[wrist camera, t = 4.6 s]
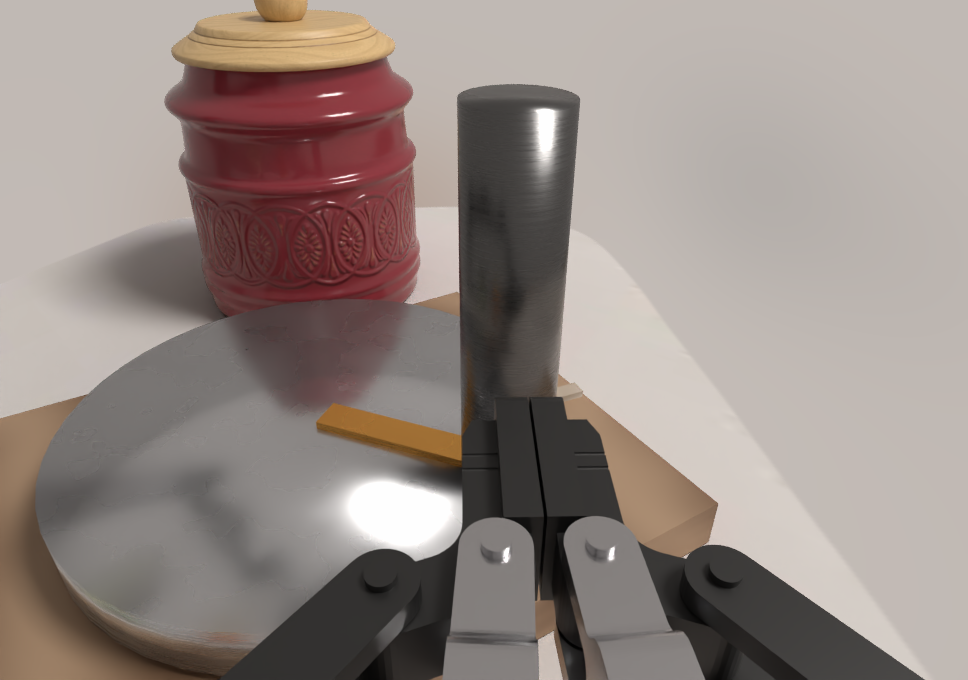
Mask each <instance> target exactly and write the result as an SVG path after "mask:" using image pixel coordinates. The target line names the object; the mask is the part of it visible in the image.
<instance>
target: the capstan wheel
mask: <svg viewBox="0 0 968 680" xmlns="http://www.w3.org/2000/svg"><path fill="white" fill-rule="evenodd" d="M579 108H580V98H579V97H578V96H577V95H576V94H574V93H572V92H569V91H566V90H563V89H558V88H553V87H546V86H538V85H522V84H506V85H490V86H483V87H477V88H472V89H469V90H466V91H463V92H461V93H460V94H459V95H458V97H457V110H458V111H457V117H458V199H459V201H458V202H459V203H458V204H459V291H460V317H459V316H456V315H453V314H450V313H447V312H444V311H440V310H436V309H432V308H428V307H423V306H419V305H413V304H407V303H401V302H393V301H382V300H369V299H334V300H317V301H307V302H297V303H290V304H284V305H278V306H272V307H267V308H262V309H258V310H253V311H249V312H245V313H241V314H238V315H234V316H231V317H227V318H224V319H220V320H217V321H215V322H212V323H209V324H206V325H203V326H200V327H198V328H195V329H193V330H190V331H188V332H186V333H183V334H181V335H179V336H176V337H174V338H172V339H170V340H168V341H166V342H164V343H162V344H160V345H158V346H156V347H154V348H152V349H150V350H148V351H146V352H145V353H143V354H141V355H140V356H138V357H137V358H135V359H133V360H132V361H130V362H129V363H127V364H125V365H124V366H122V367H121V368H120V369H118V370H117V371H116V372H114V373H113V374H112V375H110V376H109V377H108V378H106V379H105V380H104V381H102V382H101V383H100V384H99V385H98V386H97V387H96V388H94V389H93V390H92V391H91V392H90V393H89V394H88V395H87V396H86V397H85V398H83V399H82V401H81V402H80V403H79V404H78V405H77V406H76V407H75V409H74V410H73V411H72V412H71V413H70V414H69V415H68V416H67V418H66V419H65V420H64V422H63V423H62V425H61V426H60V428H59V429H58V431H57V432H56V434H55V435H54V437H53V438H52V440H51V442H50V444H49V446H48V449H47V451H46V453H45V455H44V457H43V460H42V462H41V466H40V470H39V474H38V478H37V482H36V495H35V510H36V515H37V519H38V524H39V528H40V533H41V535H42V537H43V539H44V541H45V543H46V545H47V548H48V550H49V552H50V554H51V556H52V558H53V560H54V562H55V565H56V567H57V569H58V571H59V573H60V575H61V577H62V579H63V581H64V583H65V585H66V587H67V589H68V591H69V593H70V595H71V597H72V599H73V601H74V602H75V603H76V605H77V606H78V607H79V608H80V609H81V611H82V612H83V613H84V614H85V615H86V617H87V618H88V619H89V620H90V621H91V623H93V624H94V625H95V626H96V627H98V628H99V629H100V630H102V631H103V632H104V633H105V634H107V635H108V636H109V637H110V638H112V639H113V640H114V641H116V642H117V643H119V644H121V645H123V646H125V647H127V648H129V649H131V650H133V651H135V652H136V653H138V654H140V655H142V656H144V657H146V658H149V659H152V660H155V661H158V662H161V663H164V664H167V665H170V666H173V667H177V668H180V669H183V670H189V671H195V672H201V673H207V674H212V675H218V676H224V675H225V674H226V673H227V672H228V671H229V670H230V669H231V668H233V667H234V666H235V665H236V664H237V663H238V662H239V661H240V660H242V659H243V658H244V657H245V656H246V655H247V654H248V653H249V652H251V651H252V650H253V649H254V648H255V647H256V646H257V645H258V644H260V643H261V642H262V641H263V640H264V639H265V638H266V637H267V636H269V635H270V634H271V633H272V632H273V631H274V630H275V629H276V628H278V627H279V626H280V625H281V624H282V623H283V622H284V621H286V620H287V619H288V618H289V617H290V616H291V615H292V614H293V613H295V612H296V611H297V610H298V609H299V608H300V607H301V606H302V605H304V604H305V603H306V602H307V601H308V600H309V599H310V598H311V597H313V596H314V595H315V594H316V593H317V592H318V591H319V590H320V589H322V588H323V587H324V586H325V585H326V584H327V583H328V582H329V581H331V580H332V579H333V578H334V577H335V576H336V575H337V574H339V573H340V572H341V571H342V570H343V569H344V568H345V567H346V566H348V565H349V564H350V563H351V562H352V561H353V560H355V559H356V558H357V557H359V556H360V555H362V554H364V553H366V552H369V551H372V550H376V549H394V550H398V551H401V552H404V553H405V554H407V555H409V556H410V557H411V558H413V560H414V561H419V560H422V559H425V558H429V557H432V556H434V555H437V554H439V553H441V552H443V551H445V550H446V549H447V548H449V547H450V546H451V545H452V544H453V543H454V542H455V541H456V539H457V538H458V536H459V534H460V532H461V529H462V435H463V434H464V432H465V431H466V429H467V427H468V426H469V424H470V422H471V421H476V420H494V399H495V397H527V398H528V402H529V397H557V385H558V372H559V360H560V347H561V335H562V322H563V309H564V297H565V284H566V272H567V259H568V246H569V234H570V220H571V209H572V208H571V207H572V196H573V183H574V171H575V158H576V146H577V133H578V120H579Z"/></svg>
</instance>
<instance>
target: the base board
mask: <svg viewBox="0 0 968 680" xmlns="http://www.w3.org/2000/svg"><path fill="white" fill-rule="evenodd" d="M413 305H419V306H423V307H428V308H432V309H436V310H440V311H444V312H447V313H450V314H453V315H456V316H459V317H460V294H459V293H458V292H455V293H452V294H448V295H445V296H441V297H437V298H434V299H430V300H427V301H423V302H419V303H416V304H413ZM87 395H88V394H87ZM87 395H84V396H80V397H76V398H73V399H69V400H66V401H62V402H58V403H55V404H51V405H47V406H44V407H40V408H37V409H33V410H29V411H26V412H22V413H19V414H15V415H11V416H8V417H4V418H1V419H0V680H219V679H220V678H221V677H222V676H218V675H212V674H207V673H201V672H195V671H189V670H183V669H180V668H177V667H173V666H170V665H167V664H164V663H161V662H158V661H155V660H152V659H149V658H146V657H144V656H142V655H140V654H138V653H136V652H135V651H133V650H131V649H129V648H127V647H125V646H123V645H121V644H119V643H117V642H116V641H114V640H113V639H112V638H110V637H109V636H108V635H107V634H105V633H104V632H103V631H102V630H100V629H99V628H98V627H96V626H95V625H94V624H93V623H91V621H90V620H89V619H88V618H87V617H86V615H85V614H84V613H83V612H82V611H81V609H80V608H79V607H78V606H77V605H76V603H75V602H74V601H73V599H72V597H71V595H70V593H69V591H68V589H67V587H66V585H65V583H64V581H63V579H62V577H61V575H60V573H59V571H58V569H57V567H56V565H55V562H54V560H53V558H52V556H51V554H50V552H49V550H48V548H47V545H46V543H45V541H44V539H43V537H42V535H41V533H40V528H39V524H38V519H37V515H36V510H35V495H36V482H37V478H38V474H39V470H40V466H41V462H42V460H43V457H44V455H45V453H46V451H47V449H48V446H49V444H50V442H51V440H52V438H53V437H54V435H55V434H56V432H57V431H58V429H59V428H60V426H61V425H62V423H63V422H64V420H65V419H66V418H67V416H68V415H69V414H70V413H71V412H72V411H73V410H74V409H75V407H76V406H77V405H78V404H79V403H80V402H81V401H82V399H83V398H85V397H86V396H87ZM557 397H563V401H564V405H565V410H566V415H567V419H587V420H588V421H589V423H590V424H591V425H592V426H593V427H594V428H595V429H596V430H597V432H598V433H599V434H600V436H601V440H602V444H603V447H604V451H605V455H606V459H607V463H608V469H609V470H610V474H611V478H612V482H613V485H614V489H615V493H616V497H617V500H618V504H619V508H620V512H621V516H622V519H623V522H624V525H625V526H626V527H628V528H629V529H630V530H631V531H632V533H633V534H634V535H635V537H636V539H637V541H639V542H640V543H641V544H643V545H645V546H646V547H648V548H650V549H653V550H655V551H658V552H661V553H665V554H669V555H673V556H677V557H683V556H685V555H686V554H688V553H690V552H692V551H693V550H695V549H697V548H699V547H700V546H702V545H704V544H706V543H707V542H709V538H710V534H711V530H712V526H713V522H714V518H715V515H716V511H717V507H718V503H717V502H716V501H715V500H713V499H712V498H711V497H710V496H708V495H707V494H706V493H705V492H703V491H702V490H701V489H700V488H698V487H697V486H696V485H695V484H694V483H692V482H691V481H690V480H689V479H687V478H686V477H685V476H684V475H682V474H681V473H680V472H679V471H678V470H676V469H675V468H674V467H673V466H671V465H670V464H669V463H668V462H666V461H665V460H664V459H663V458H661V457H660V456H659V455H658V454H657V453H655V452H654V451H653V450H652V449H650V448H649V447H648V446H647V445H645V444H644V443H643V442H642V441H640V440H639V439H638V438H637V437H636V436H634V435H633V434H632V433H631V432H629V431H628V430H627V429H626V428H624V427H623V426H622V425H621V424H620V423H618V422H617V421H616V420H615V419H613V418H612V417H611V416H610V415H608V414H607V413H606V412H605V411H603V410H602V409H601V408H600V407H599V406H597V405H596V404H595V403H594V402H592V401H591V400H590V399H589V398H587V397H586V396H585V395H584V394H583V391H582V390H581V389H580V388H579V387H578V386H577V385H576V384H575V383H571V384H570V383H569V382H568V381H566V380H565V379H564V378H563V377H562V376H560V375H559V374H558V385H557ZM555 619H556V616H555V608H554V601H553V600H544V601H541V600H540V591H539V585H538V597H537V601H535V630H536V639H537V640H538V639H540V638H541V637H543V636H545V635H547V634H548V633H550V632H552V631H554V628H555ZM442 678H443V675H441V676H438V677H436V678H433V679H430V680H442Z"/></svg>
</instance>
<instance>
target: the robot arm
mask: <svg viewBox="0 0 968 680" xmlns="http://www.w3.org/2000/svg"><path fill="white" fill-rule="evenodd" d="M538 585H539V591H540V600H541V601H544V600H553V601H554V608H555V616H556V619H555V628H554V639H555V644H556V649H557V653H558V658H559V663H560V667H561V672H562V677H563V680H924V679H923V678H921V677H920V676H919V675H917V674H916V673H914V672H913V671H911V670H910V669H909V668H907V667H906V666H904V665H903V664H901V663H900V662H898V661H897V660H896V659H894V658H893V657H891V656H890V655H888V654H887V653H886V652H884V651H883V650H881V649H880V648H878V647H877V646H876V645H874V644H873V643H871V642H870V641H868V640H867V639H865V638H864V637H863V636H861V635H860V634H858V633H857V632H855V631H854V630H853V629H851V628H850V627H848V626H847V625H845V624H844V623H843V622H841V621H840V620H838V619H837V618H835V617H834V616H832V615H831V614H830V613H828V612H827V611H825V610H824V609H822V608H821V607H820V606H818V605H817V604H815V603H814V602H812V601H811V600H810V599H808V598H807V597H805V596H804V595H802V594H801V593H800V592H798V591H797V590H795V589H794V588H792V587H791V586H789V585H788V584H787V583H785V582H784V581H782V580H781V579H779V578H778V577H777V576H775V575H774V574H772V573H771V572H769V571H768V570H767V569H765V568H764V567H762V566H761V565H759V564H758V563H756V562H755V561H754V560H752V559H751V558H749V557H748V556H746V555H745V554H743V553H741V552H740V551H737V550H735V549H733V548H730V547H726V546H721V545H706V546H702V547H699V548H697V549H695V550H694V551H692V552H691V553H690V554H689V555H688V557H687V559H685V558H681V557H677V556H673V555H669V554H665V553H661V552H658V551H655V550H653V549H650V548H648V547H646V546H645V545H643V544H641V543H640V542H639V541H637V539H636V537H635V535H634V534H633V533H632V531H631V530H630V529H629V528H628V527H626V526H625V525H624V522H623V519H622V516H621V512H620V508H619V504H618V500H617V497H616V493H615V489H614V485H613V482H612V478H611V474H610V470H609V469H608V463H607V459H606V455H605V451H604V447H603V444H602V440H601V436H600V434H599V433H598V432H597V430H596V429H595V428H594V427H593V426H592V425H591V424H590V423H589V421H588V420H587V419H567V415H566V410H565V405H564V401H563V397H529V402H528V398H527V397H495V399H494V420H476V421H471V422H470V424H469V426H468V427H467V429H466V431H465V432H464V434H463V435H462V529H461V532H460V534H459V536H458V538H457V539H456V541H455V542H454V543H453V544H452V545H451V546H450V547H449V548H447V549H446V550H445V551H443V552H441V553H439V554H437V555H434V556H432V557H429V558H425V559H422V560H419V561H414V560H413V558H411V557H410V556H409V555H407V554H405V553H404V552H401V551H398V550H394V549H376V550H372V551H369V552H366V553H364V554H362V555H360V556H359V557H357V558H356V559H355V560H353V561H352V562H351V563H350V564H349V565H348V566H346V567H345V568H344V569H343V570H342V571H341V572H340V573H339V574H337V575H336V576H335V577H334V578H333V579H332V580H331V581H329V582H328V583H327V584H326V585H325V586H324V587H323V588H322V589H320V590H319V591H318V592H317V593H316V594H315V595H314V596H313V597H311V598H310V599H309V600H308V601H307V602H306V603H305V604H304V605H302V606H301V607H300V608H299V609H298V610H297V611H296V612H295V613H293V614H292V615H291V616H290V617H289V618H288V619H287V620H286V621H284V622H283V623H282V624H281V625H280V626H279V627H278V628H276V629H275V630H274V631H273V632H272V633H271V634H270V635H269V636H267V637H266V638H265V639H264V640H263V641H262V642H261V643H260V644H258V645H257V646H256V647H255V648H254V649H253V650H252V651H251V652H249V653H248V654H247V655H246V656H245V657H244V658H243V659H242V660H240V661H239V662H238V663H237V664H236V665H235V666H234V667H233V668H231V669H230V670H229V671H228V672H227V673H226V674H225V675H224V676H222V677H221V678H220V679H219V680H430V679H433V678H436V677H438V676H441V675H443V678H442V680H539V660H538V640H537V639H536V630H535V601H537V597H538Z"/></svg>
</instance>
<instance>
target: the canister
mask: <svg viewBox="0 0 968 680" xmlns="http://www.w3.org/2000/svg"><path fill="white" fill-rule="evenodd" d="M254 3H255V6H256V9H257V10H258V11H252V12H241V13H231V14H224V15H218V16H213V17H209V18H205V19H202V20H200V21H198V22H197V24H196V26H195V28H194V30H193V31H192V32H191V33H190V34H189V35H187V36H186V37H184V38H183V39H182V40H180V41H179V42H178V43H176V45H174V46H173V47H172V50H171V52H172V55H173V57H174V58H175V59H176V60H177V61H179V62H181V63H183V64H185V68H184V74H183V79H182V81H180V82H179V83H178V84H177V85H175V86H174V87H173V88H172V89H171V90H170V91H169V92H168V93H167V95H166V96H165V101H164V102H165V106H166V108H167V109H168V111H169V112H170V113H171V114H173V115H174V116H175V117H177V118H178V119H179V120H180V122H181V126H182V132H183V139H184V146H185V151H184V152H183V154H182V155H181V157H180V159H179V169H180V172H181V173H182V175H183V176H184V177H185V179H186V183H187V187H188V192H189V196H190V200H191V205H192V209H193V213H194V218H195V223H196V227H197V231H198V236H199V240H200V245H201V249H202V254H203V259H202V269H203V272H204V275H205V282H206V284H207V287H208V289H209V290H210V292H211V293H212V294H213V297H214V300H215V303H216V305H217V307H218V308H219V309H220V311H221V312H223V313H224V314H225V315H226V316H228V317H231V316H234V315H238V314H241V313H245V312H249V311H253V310H258V309H262V308H267V307H272V306H278V305H284V304H290V303H297V302H307V301H317V300H334V299H369V300H382V301H393V302H401V303H403V302H404V301H405V300H406V299H407V298H408V297H409V296H410V295H411V293H412V292H413V290H414V288H415V286H416V282H417V272H418V269H419V266H420V255H419V252H420V245H419V241H418V238H417V236H416V219H415V197H414V177H413V176H414V175H413V161H414V158H415V156H416V149H415V146H414V144H413V142H412V141H411V140H410V139H409V138H408V137H407V134H406V127H405V119H404V108H405V106H406V105H407V104H408V103H409V101H410V100H411V98H412V96H413V89H412V86H411V85H410V84H409V82H408V81H406V80H405V79H404V78H402V77H401V76H399V75H398V74H396V73H395V72H393V71H392V69H391V67H390V65H389V62H388V60H387V56H388V55H390V54H391V53H392V52H393V51H394V49H395V43H394V41H393V40H392V39H391V38H390V37H388V36H387V35H385V34H383V33H382V32H380V31H378V30H376V29H375V28H374V27H372V26H371V25H370V24H369V23H368V21H367V20H366V19H365V18H364V17H362V16H360V15H356V14H351V13H344V12H335V11H321V10H307V0H254Z"/></svg>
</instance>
